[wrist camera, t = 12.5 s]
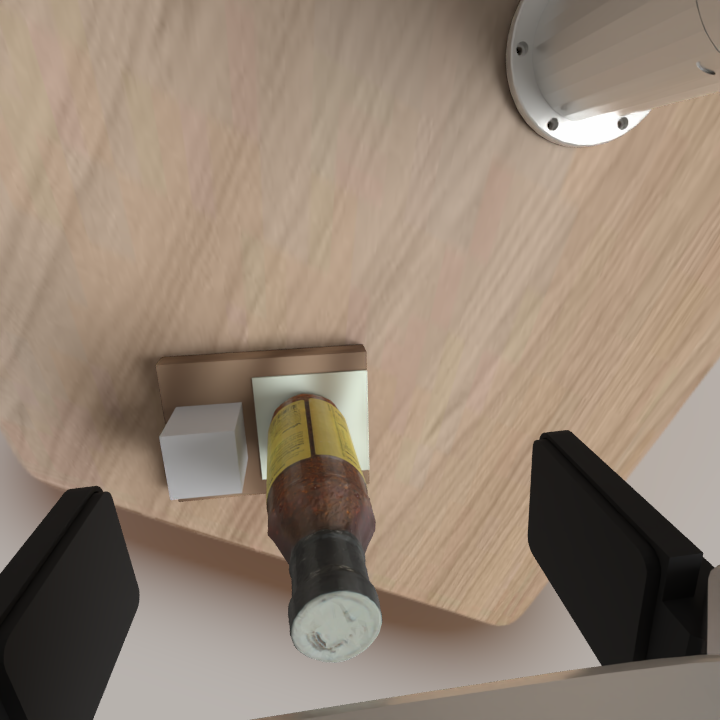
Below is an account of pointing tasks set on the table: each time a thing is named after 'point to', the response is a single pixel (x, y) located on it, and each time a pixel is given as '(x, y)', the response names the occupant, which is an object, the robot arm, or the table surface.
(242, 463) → the grey block
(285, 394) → the base board
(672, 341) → the table surface
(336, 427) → the sauce bottle
